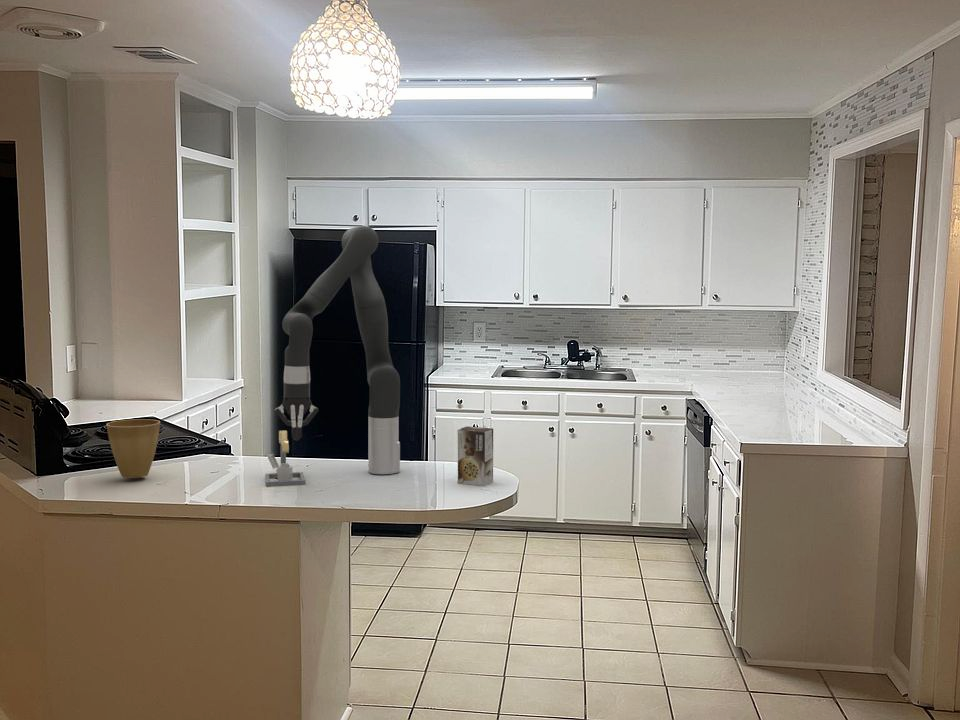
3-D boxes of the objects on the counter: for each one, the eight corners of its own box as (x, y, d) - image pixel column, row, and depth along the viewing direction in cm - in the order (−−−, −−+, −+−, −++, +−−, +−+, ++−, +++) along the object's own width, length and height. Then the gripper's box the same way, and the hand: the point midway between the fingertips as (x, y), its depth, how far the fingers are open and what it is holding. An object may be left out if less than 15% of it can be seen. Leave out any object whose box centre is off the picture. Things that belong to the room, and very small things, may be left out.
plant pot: (170, 475, 260) (168, 422, 259) (120, 483, 250) (118, 428, 248) (148, 467, 271) (147, 416, 269) (99, 474, 260) (98, 422, 259)
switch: (301, 471, 268) (301, 441, 267) (305, 484, 252) (305, 453, 251) (264, 472, 265) (264, 443, 265) (266, 486, 249) (265, 454, 248)
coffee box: (493, 482, 257) (494, 428, 256) (484, 486, 251) (485, 431, 250) (466, 478, 261) (466, 425, 259) (456, 483, 255) (457, 428, 254)
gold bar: (286, 441, 265) (286, 430, 265) (290, 453, 249) (289, 440, 249) (278, 442, 265) (278, 430, 265) (281, 453, 248) (281, 441, 248)
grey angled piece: (292, 480, 256) (292, 453, 255) (291, 482, 254) (290, 455, 254) (269, 479, 257) (269, 453, 256) (267, 481, 255) (267, 454, 254)
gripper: (318, 379, 260) (318, 436, 261) (273, 379, 256) (273, 437, 258) (321, 382, 252) (320, 441, 254) (274, 382, 249) (273, 442, 251)
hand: (296, 439), depth 256 cm, fingers closed
